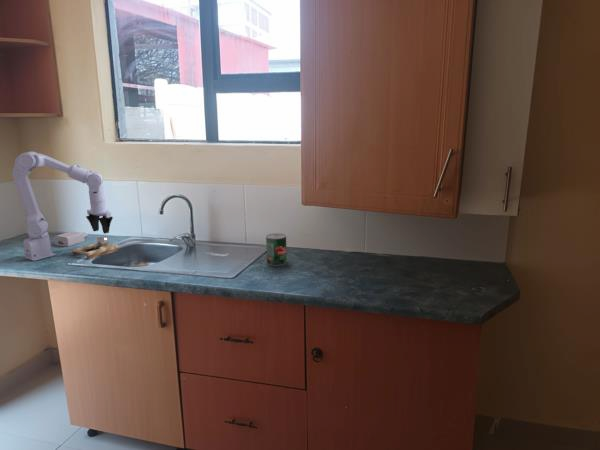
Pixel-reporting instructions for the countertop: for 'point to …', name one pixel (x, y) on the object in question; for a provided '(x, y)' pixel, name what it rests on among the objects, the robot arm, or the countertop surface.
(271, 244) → the canned tomato
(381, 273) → the countertop surface
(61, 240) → the charger
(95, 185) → the robot arm
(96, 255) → the keyhole plate
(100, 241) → the peg
